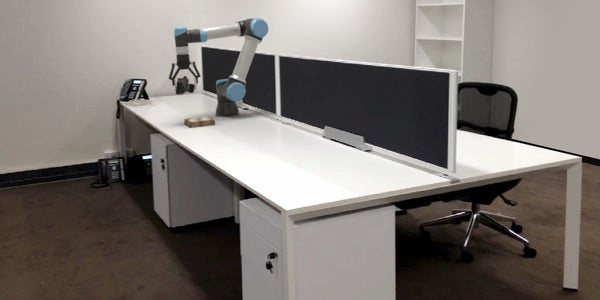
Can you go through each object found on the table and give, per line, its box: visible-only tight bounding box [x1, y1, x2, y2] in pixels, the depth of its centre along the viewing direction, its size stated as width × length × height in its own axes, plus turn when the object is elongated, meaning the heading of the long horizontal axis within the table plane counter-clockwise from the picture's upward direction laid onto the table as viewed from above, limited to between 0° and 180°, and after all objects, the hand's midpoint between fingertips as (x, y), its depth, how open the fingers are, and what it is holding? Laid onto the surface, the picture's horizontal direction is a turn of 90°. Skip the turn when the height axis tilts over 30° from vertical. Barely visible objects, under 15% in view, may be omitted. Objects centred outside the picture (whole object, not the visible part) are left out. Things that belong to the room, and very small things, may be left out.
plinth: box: [183, 116, 216, 129], centre depth 358 cm, size 15×15×3 cm
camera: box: [175, 75, 195, 96], centre depth 362 cm, size 18×9×10 cm, turn 179°
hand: (185, 90), depth 361 cm, fingers closed on camera, 11 cm apart
